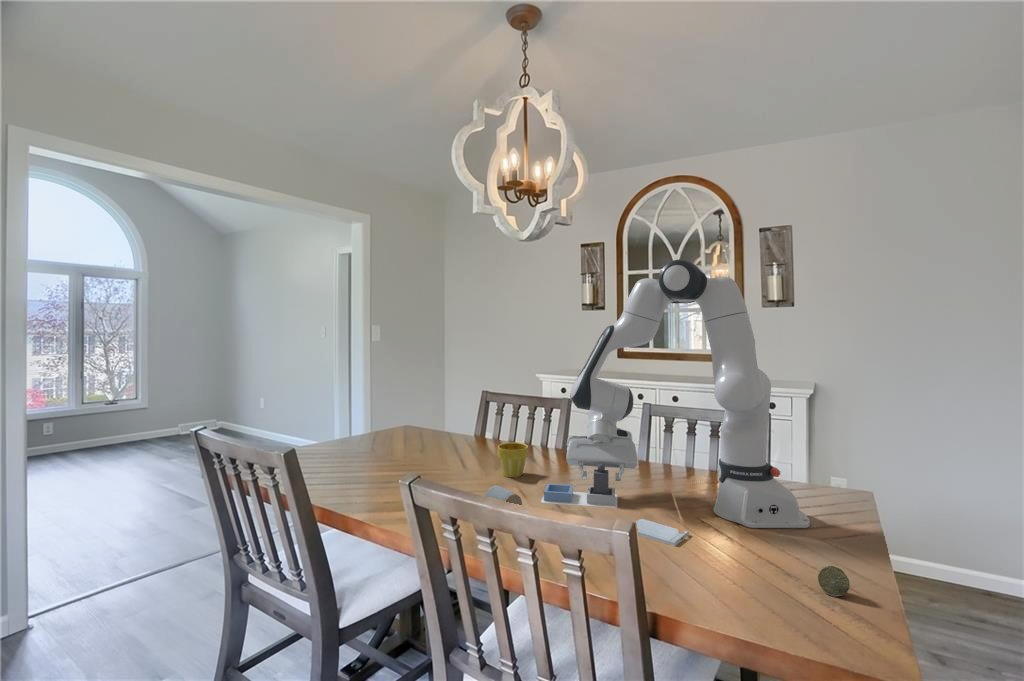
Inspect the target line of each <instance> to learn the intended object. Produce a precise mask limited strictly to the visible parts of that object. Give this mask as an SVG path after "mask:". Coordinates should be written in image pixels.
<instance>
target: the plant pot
mask: <svg viewBox="0 0 1024 681" xmlns="http://www.w3.org/2000/svg"><path fill="white" fill-rule="evenodd" d="M497 457H498V458H499V460H500V461H499V462H500V465H501V470H502V476H504V477H507V478H519V477H521V475H523V474H524V468H525V463H526V460H527V457H529V446H528V445H527V444H525V443H522V442H504V443H501V444H499V445H497Z"/></svg>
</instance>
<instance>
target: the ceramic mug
mask: <svg viewBox="0 0 1024 681" xmlns="http://www.w3.org/2000/svg"><path fill="white" fill-rule="evenodd" d="M484 496H487V497H492V498H496V499H500V500H503V501H506V502H509V503H514V504H519V505H522V506H523V501H522V498H521V496H520V495H518V494H517V493H515V492H513V491H511V490H509V489H506V488H505V487H502V486H499V485H493V486H491V487H490V488H488V489H487V491H486V492H485V495H484Z"/></svg>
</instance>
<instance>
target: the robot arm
mask: <svg viewBox="0 0 1024 681" xmlns="http://www.w3.org/2000/svg"><path fill="white" fill-rule="evenodd" d="M658 275H659V276H658V279H655V278H650V277H649V278H647V277H646V278H645V277H644V278H642V279H639V280H638V281H636V282H635V284H634V286H633V288H632V289H631V292H630V293H629V295H628V298H627V299H626V302H625V304H624V308H623V310H622V313H621V315H620V317H619V318H618V319H617V321H616V322H615V323H614V324H612V325H608V326H606V328H605V329H604V330H603V331H602V333H601V335H600V336H599V338H598V339H597V340H596V344H595V345H594V347H593V349H592V350H591V352H590V354H589V356H588V359H587V360H586V362H585V364H584V366H583V368H582V370H581V371H580V373H579V374H578V376H577V378H575V381H574V382H573V384H572V387H571V390H570V395H569V396H570V399H571V401H572V403H573V405H574V406H575V407H576V408H577V409H581V410H586V411H588V413H587V416H588V425H587V433H586V434H587V435H572V436H571V437H568V438H567V440H566V447H567V449H566V457H565V458H566V463H567V464H568V465H569V466H576V467H578V471H579V472H580V473H581V474H580V475H581V480H587V479H588V471H587V470H584V467H594V468H595V467H596V468H598V464H604V465H605V468H612V469H613V468H614V469H615V468H616V469H619V471H618V472H615V476H614V478H615V482H622V480H621V477H622V476H623V474H624V473H625V469H633V470H634V469H636V468H637V467H638V454H637V449H636V448H637V447H636V444H635V443H634V441H633V434H632V432H631V431H628V430H625V429H622V428H621V427H618V426H617V423H618V422H621V421H623V420H624V419H625V418H626V417H628V416H630V414H631V412H632V410H633V407H634V395H633V392H632V391H631V389H630V388H629V387H628V386H627V385H626V386H625V385H622V384H620V383H616V382H611V381H608V380H604V379H600V378H597V377H598V374H599V372H600V370H601V369H602V367H603V365H604V363H605V361H606V360H607V358H608V356H609V355H610V353H612V352H613V351H616V350H618V349H623V348H633V347H640V346H643V345H646V344H648V343H650V342H651V341H652V340H653V339H654V338H655V336H656V335H657V333H658V330H659V328H660V325H661V321H662V319H663V316H664V313H665V311H666V309H667V307H668V306H669V305H670V304H692V303H696V304H697V305H698V306H699V308H700V311H701V313H702V317H703V318H702V319H703V322H704V327H705V331H706V334H707V339H708V342H709V343H708V344H709V348H710V353H711V362H712V364H711V366H712V375H713V376H712V377H713V382H714V383H713V384H714V389H713V392H714V393H713V394H714V398H715V400H716V402H717V404H718V405H719V406H720V407H721V408H722V409H724V411H723V412H724V413H723V414H724V415H723V420H722V425H721V428H720V458H719V459H718V464H717V477H718V480H719V482H718V483H719V484H718V489H717V490H718V491H717V494H716V495H717V496H716V501H715V504H714V507H713V509H712V510H713V513H714V514H716V515H717V516H718V517H721V518H722V519H724V520H727V521H730V522H734V523H737V524H740V525H742V526H744V527H746V528H751V529H759V528H760V529H808V528H809V527H810V525H811V524H810V523H811V522H810V519H809V517H808V516H807V515H806V513H804V512H803V511H801V510H800V506H799V502H798V500H797V498H796V496H795V494H794V493H793V492H792V491H790V490H789V489H788V488H787V487H786V486H784V485H783V484H782V483H781V482H780V481H778V480H777V479H776V478H778V477H780V476H781V474H782V472H781V471H780V470H779V468H777V467H774V466H773V465H772V464H769V463H768V462H767V435H768V434H767V433H768V425H769V424H768V423H769V416H770V406H771V405H770V404H771V394H772V392H771V390H772V385H771V380H770V378H769V376H768V375H767V373H765V372H764V371H763V370H761V369H760V368H759V367H758V359H757V352H756V350H757V349H756V339H755V335H754V331H753V327H752V323H751V320H750V315H749V313H748V309H747V305H746V303H745V300H744V297H743V294H742V292H741V289H740V288H739V285H738V284H737V282H736V281H735V280H734V279H733V278H731V277H728V276H715V277H712V278H711V277H707V275H706V273H705V272H703V270H702V269H701V268H700V267H699V266H698V265H696V264H695V263H694V262H691V261H690V260H686V259H681V258H680V259H673V260H672V261H669V262H667V263H666V264H665V265H664V266H663V267H662V268H661V270H660V272H659V274H658ZM774 477H775V478H774Z"/></svg>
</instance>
